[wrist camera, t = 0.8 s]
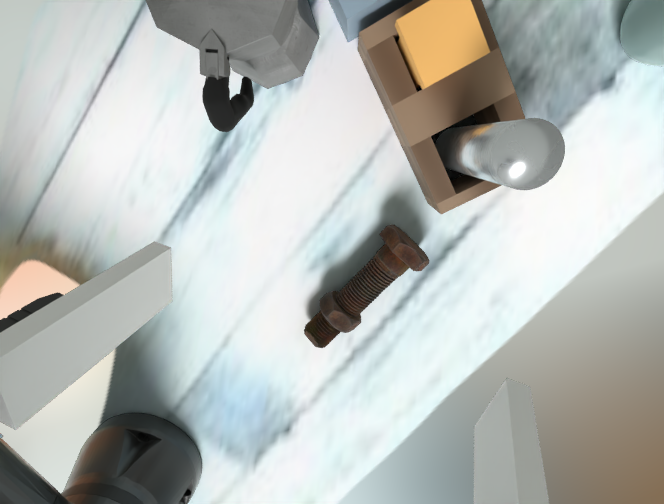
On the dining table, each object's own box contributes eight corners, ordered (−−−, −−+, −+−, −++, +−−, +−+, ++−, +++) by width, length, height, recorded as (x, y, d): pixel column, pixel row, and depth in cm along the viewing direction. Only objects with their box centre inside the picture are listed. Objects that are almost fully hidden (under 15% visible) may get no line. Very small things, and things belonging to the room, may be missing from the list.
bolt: (312, 317, 45) (401, 227, 41) (338, 351, 43) (434, 261, 39) (285, 323, 40) (385, 220, 36) (314, 362, 38) (422, 259, 34)
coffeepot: (217, -53, 33) (74, -261, 16) (324, -47, 33) (295, -251, 16) (220, 131, 38) (110, 123, 20) (314, 137, 37) (284, 136, 20)
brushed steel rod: (444, 176, 38) (507, 201, 22) (428, 140, 37) (482, 139, 22) (482, 157, 37) (574, 170, 22) (466, 119, 36) (551, 104, 21)
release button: (410, 97, 33) (425, 87, 27) (387, 44, 32) (396, 20, 26) (462, 69, 32) (490, 52, 26) (440, 13, 31) (463, -20, 25)
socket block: (427, 203, 39) (441, 214, 33) (357, 50, 35) (359, 32, 29) (513, 161, 37) (542, 165, 31) (449, -4, 33) (469, -34, 28)
